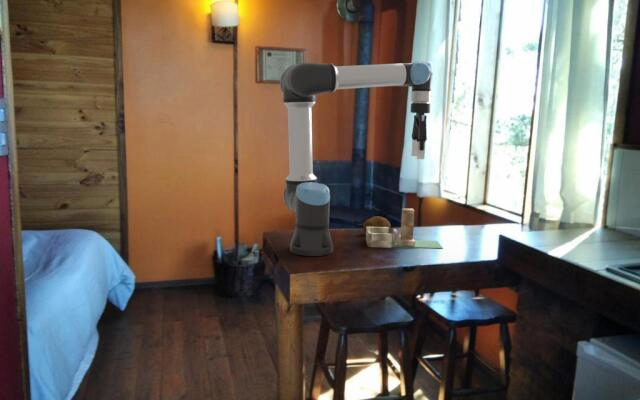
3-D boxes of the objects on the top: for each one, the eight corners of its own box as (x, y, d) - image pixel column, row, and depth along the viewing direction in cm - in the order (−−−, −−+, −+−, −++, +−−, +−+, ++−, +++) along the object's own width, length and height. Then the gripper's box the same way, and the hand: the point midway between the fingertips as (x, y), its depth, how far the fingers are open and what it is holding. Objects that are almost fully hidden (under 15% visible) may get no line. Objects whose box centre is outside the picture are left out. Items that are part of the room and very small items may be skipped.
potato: (358, 234, 209) (358, 215, 208) (382, 231, 216) (383, 213, 214) (370, 238, 202) (371, 219, 201) (394, 235, 209) (395, 216, 208)
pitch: (372, 246, 190) (372, 245, 190) (369, 239, 201) (369, 238, 201) (442, 248, 190) (442, 247, 190) (437, 241, 200) (437, 240, 200)
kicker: (411, 239, 200) (412, 207, 198) (415, 246, 190) (417, 212, 188) (392, 239, 200) (394, 206, 198) (395, 245, 190) (397, 211, 188)
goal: (367, 246, 189) (368, 233, 189) (365, 239, 201) (366, 226, 200) (391, 247, 189) (392, 234, 188) (387, 239, 201) (388, 227, 200)
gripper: (437, 102, 188) (433, 160, 191) (424, 103, 212) (421, 155, 216) (416, 101, 188) (412, 160, 191) (406, 103, 212) (403, 154, 216)
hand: (417, 157), depth 204 cm, fingers open, 13 cm apart
